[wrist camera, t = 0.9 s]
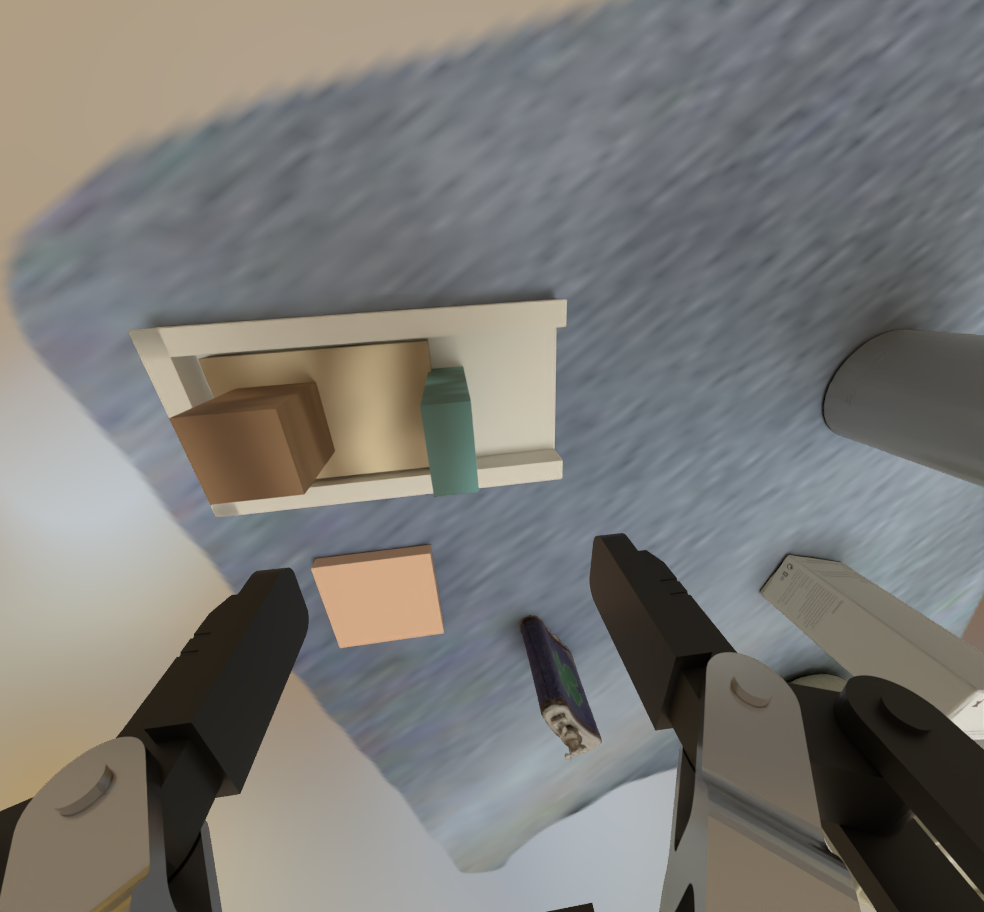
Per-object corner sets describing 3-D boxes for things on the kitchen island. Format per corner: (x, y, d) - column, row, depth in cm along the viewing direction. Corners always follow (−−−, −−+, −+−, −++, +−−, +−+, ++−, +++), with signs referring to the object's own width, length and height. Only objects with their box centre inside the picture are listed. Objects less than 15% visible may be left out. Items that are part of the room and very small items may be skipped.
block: (316, 381, 23) (275, 408, 18) (335, 451, 25) (304, 494, 20) (235, 388, 23) (169, 418, 17) (262, 458, 25) (210, 504, 19)
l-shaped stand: (460, 336, 24) (467, 358, 16) (471, 455, 28) (481, 522, 20) (209, 355, 23) (77, 390, 15) (257, 478, 27) (173, 559, 18)
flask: (575, 655, 40) (615, 769, 31) (553, 667, 41) (586, 782, 31) (535, 610, 37) (566, 724, 27) (511, 624, 37) (534, 740, 27)
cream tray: (556, 299, 24) (566, 299, 22) (553, 465, 30) (562, 478, 27) (158, 327, 22) (127, 330, 20) (234, 499, 28) (216, 517, 25)
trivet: (430, 544, 32) (430, 553, 30) (444, 622, 36) (444, 633, 35) (315, 558, 31) (311, 568, 30) (343, 637, 35) (339, 648, 34)
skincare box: (757, 592, 39) (917, 746, 26) (788, 549, 37) (981, 694, 24) (814, 599, 41) (992, 747, 28) (847, 559, 39) (1058, 699, 26)
